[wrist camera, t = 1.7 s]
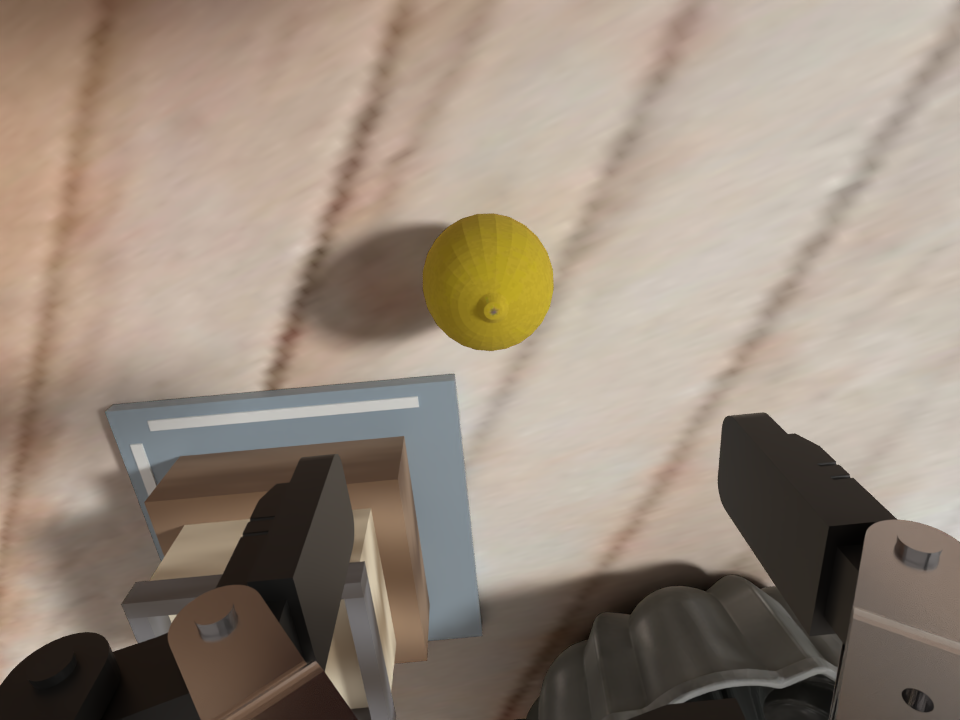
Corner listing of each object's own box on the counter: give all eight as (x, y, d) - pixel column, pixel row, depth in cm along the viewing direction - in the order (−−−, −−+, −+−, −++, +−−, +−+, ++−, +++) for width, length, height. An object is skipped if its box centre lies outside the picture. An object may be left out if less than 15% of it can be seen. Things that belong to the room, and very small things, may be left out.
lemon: (459, 330, 31) (461, 402, 23) (405, 233, 28) (388, 279, 21) (558, 282, 30) (592, 341, 22) (510, 179, 28) (530, 207, 20)
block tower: (179, 456, 32) (80, 583, 23) (404, 435, 32) (386, 556, 23) (234, 622, 37) (169, 778, 28) (429, 604, 37) (422, 755, 28)
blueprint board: (113, 404, 31) (103, 412, 31) (454, 374, 31) (454, 381, 31) (203, 651, 39) (198, 663, 38) (481, 625, 39) (482, 637, 38)
